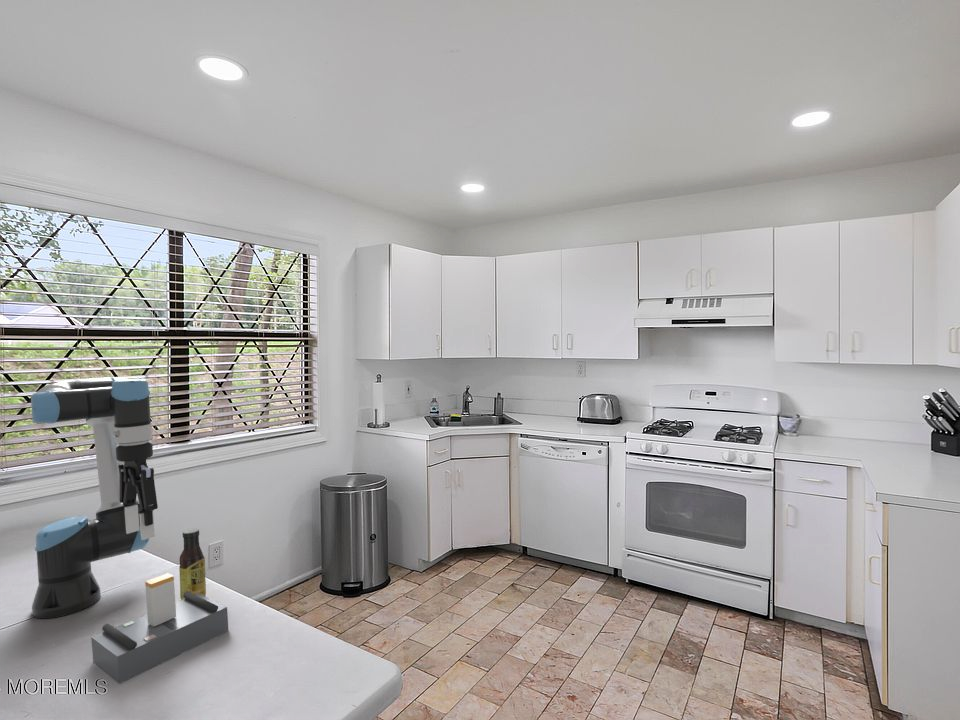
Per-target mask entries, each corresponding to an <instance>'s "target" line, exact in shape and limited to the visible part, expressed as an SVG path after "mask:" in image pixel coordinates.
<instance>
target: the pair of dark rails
mask: <svg viewBox="0 0 960 720" xmlns="http://www.w3.org/2000/svg"><path fill="white" fill-rule="evenodd" d="M183 597H184V598H186V599H188V600H190V601H192V602H194V603H196V604H198V605H199V606H201V607H203V608H205V609H207V610H209V611H211V612H213V613H214V612H216V611H217V610H218V606H217V605H215V604H213V603H211V602H209V601H207V600H204V599H202V598H200V597H198V596H196V595H194V594H192V593H190V592H188V591H187V592H185V593H184V595H183ZM115 627H116V626H113V625H111V624H110V623H104V625H103V626H102V627H101V629H102V631H103V632H106V633H107V634H109V635H110V636H112V637H113V638H114V639H116V640H117V641H119V642H120V643H121V644H123V645H124V646H126V647H127V648H128V649H130V650H133V649H134V648H135V647H136V646H137V643H136V642H135V641H134V640H132V639H131V638H129V637H128V636H126V635H125V634H123V633H122V632H120V631H119V630H117V629H116V628H115Z"/></svg>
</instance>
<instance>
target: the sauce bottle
mask: <svg viewBox="0 0 960 720" xmlns="http://www.w3.org/2000/svg"><path fill="white" fill-rule="evenodd" d="M182 538H183V550H182V552H181V554H180V556H179V568H178V569H179V595H180V596H179V597H180V600H182V599H185V598H184V597H183V595H184V593H185V592H187V591H188V592H190V593H192V594H194V595H195V594H197V593H200V594H202V595H204V596H206V595H207V588H206V587H207V584H206V582H207V581H206V561H205V559H206V558H205V556H204V554H203V551H202V548H201V546H200V540H199V539H200V529H198V528H191V529H187V530H184V531H182ZM206 597H207V596H206Z"/></svg>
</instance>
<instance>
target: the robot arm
mask: <svg viewBox="0 0 960 720" xmlns="http://www.w3.org/2000/svg"><path fill="white" fill-rule="evenodd" d="M149 389H150V388H149V382H148V381H147V379H145V378H132V379H131V378H130V379H128V378H126V377H124V376H118V377H117V376H116V377H114V376H108V377H99V378H84V379H69V380H68V379H67V380H61V381H58V382H54V383H50V384H48V385H45V386H42V387H41V388H40V389H38V390H37V391H36V392H35V393H32V395H31V396H30V406H31V417H32V421H33V423H34V424H36V425H39V424H43V425H44V424H55V423H64V422H72V421H80V420H85V423H86V424H87V425H88V426H90V427H91V428H92V430H93V440H94V441H93V442H94V447H95V448H94V449H95V455H96V456H95V458H96V459H95V460H96V467H97V478H98V486H99V495H100V497H99V498H100V503H101V504H100V507H99V508H98V510H97V511H95V519H90V520H89V518H88V516H86V515H78V516H71V517H67V518H64V519H60V520H58V521H55V522H52V523H50V524H48V525H46V526H44V527H43V528H41V529H40V530H39V531H38V532H37V533H36V536H35V547H34V551H35V552H36V563H37V564H36V565H37V566H36V567H37V576H38V577H37V579H38V580H37V581H38V586H37V589H36V592H35V595H34V598H33V601H32V605H31V613H32V616H33V617H34V618H37V619H53V618H59V617H60V618H61V617H63V616H67V615H71V614H74V613H77V612H80V611H82V610H84V609H86V608H89V607H90V606H92V605H94V604H96V603H97V602H98V601H99V600H100V598H101V597H102V596H101V587H100V585H99V584H98V581H97V579H96V578H95V577H96V576H95V575H94V574H93V572H92V563H93V562H97V561H101V560H105V559H109V558H113V557H117V556H121V555H125V554H131V552H132V553H133V552H135V551H139V550H143V549H144V548H146V547H147V546H148V543H149V540H150V539H151V538H154V537H155V536H156V535H155V523H154V510H157V509H158V507H159V505H158V499H157V498H158V497H157V491H156V486H155V483H156V482H155V478H154V477H155V476H154V475H155V469H154V468H153V467H150V468H149V466H148V464H147V459H150V458H151V457H153V455H154V451H153V449H154V447H153V446H154V445H153V442H152V441H151V440H152V439H153V431H152V429H153V427H152V422H151V421H152V420H151V408H150V407H151V406H150V401H151V400H150V395H151V393H150V390H149Z"/></svg>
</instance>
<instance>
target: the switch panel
mask: <svg viewBox="0 0 960 720" xmlns="http://www.w3.org/2000/svg"><path fill="white" fill-rule="evenodd" d="M195 595H196V596H198V597H200V598H202V599H204V600H207V601H209V602H211V603H213V604H215V605H217V606H218V610H217V611H216V612H214V613H213V612H211V611H209V610H207V609H205V608H203V607H201V606H199V605H198V604H196V603H194V602H192V601H190V600H188V599H186V598H185V599H182V600H181V599H180V600H177V601H175V605H176V617H175V618H173V619H170V620H168V621H166V622H163V623H161V624H159V625H157V626H154V627H153V626H152V625H150V624H149V623H148V617H147V613H146V614H144V615H141V616H139V617H137V618H134V619H132V620H129V621H127V622H125V623H122V624H119V625H117V626H114V627H115V628H116V629H117V630H119V631H120V632H122V633H123V634H125V635H126V636H128V637H129V638H131V639H132V640H134V641H135V642H136V643H137V646H136V647H135V648H134V649H133V650H130V649H128V648H127V647H126V646H124V645H123V644H121V643H120V642H119V641H117V640H116V639H114V638H113V637H112V636H110V635H109V634H107V633H106V632H104V631H103V632H100V633H97V634H95V635H93V636H90V637H91V651H92V653H91V654H92V663H93V664H94V665H95V666H96V667H97V668H99V670H101V671H103V673H105V674H106V675H108V676H109V677H110V678H111V679H112V680H113V681H115V682H116V683H117V684H118V685H120V684H122V683H125V682H126V681H129V680H131V679H133V678H134V677H137V676H139V675H141V674H143V673H145V672H147V671H149V670H150V669H153V668H155V667H157V666H159V665H161V664H163V663H165V662H167V661H169V660H171V659H174V658H176V657H177V656H180V655H182V654H184V653H185V651H186V652H187V650H188V651H190V650H192V649H194V648H196V647H198V646H200V645H202V644H204V643H206V642H208V641H210V640H212V639H215V638H216V637H219V636H220V635H223V634H224V633H227V632H229V631H228V630H229V619H228V617H229V616H228V607H227V606H226V605H224V604H222V603H220V602H219V601H215V600H214V599H212V598H210V597H207V596H204V595H202V594H200V593H197V594H195ZM226 631H227V632H226ZM193 647H194V648H193ZM191 648H192V649H191ZM189 649H190V650H189ZM183 652H184V653H183ZM181 653H182V654H181Z"/></svg>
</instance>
